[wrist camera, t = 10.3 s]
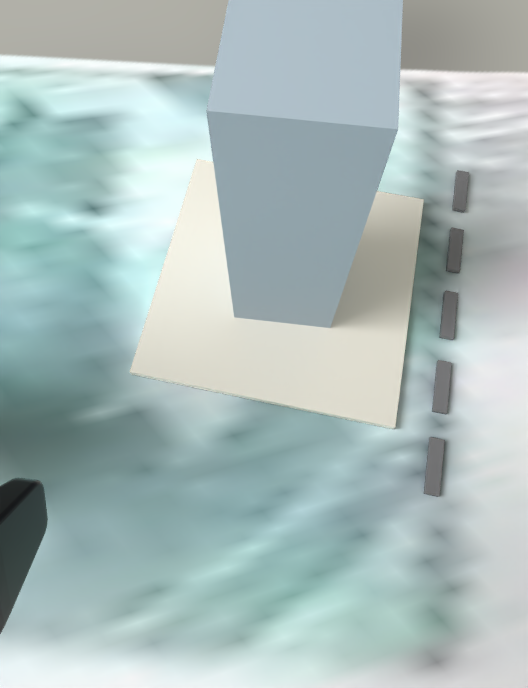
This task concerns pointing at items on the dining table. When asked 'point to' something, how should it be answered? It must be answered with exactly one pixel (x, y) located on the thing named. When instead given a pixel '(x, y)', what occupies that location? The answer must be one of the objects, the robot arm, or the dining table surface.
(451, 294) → the perforation line
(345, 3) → the stub block
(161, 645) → the dining table surface
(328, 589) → the dining table surface
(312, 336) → the coaster
